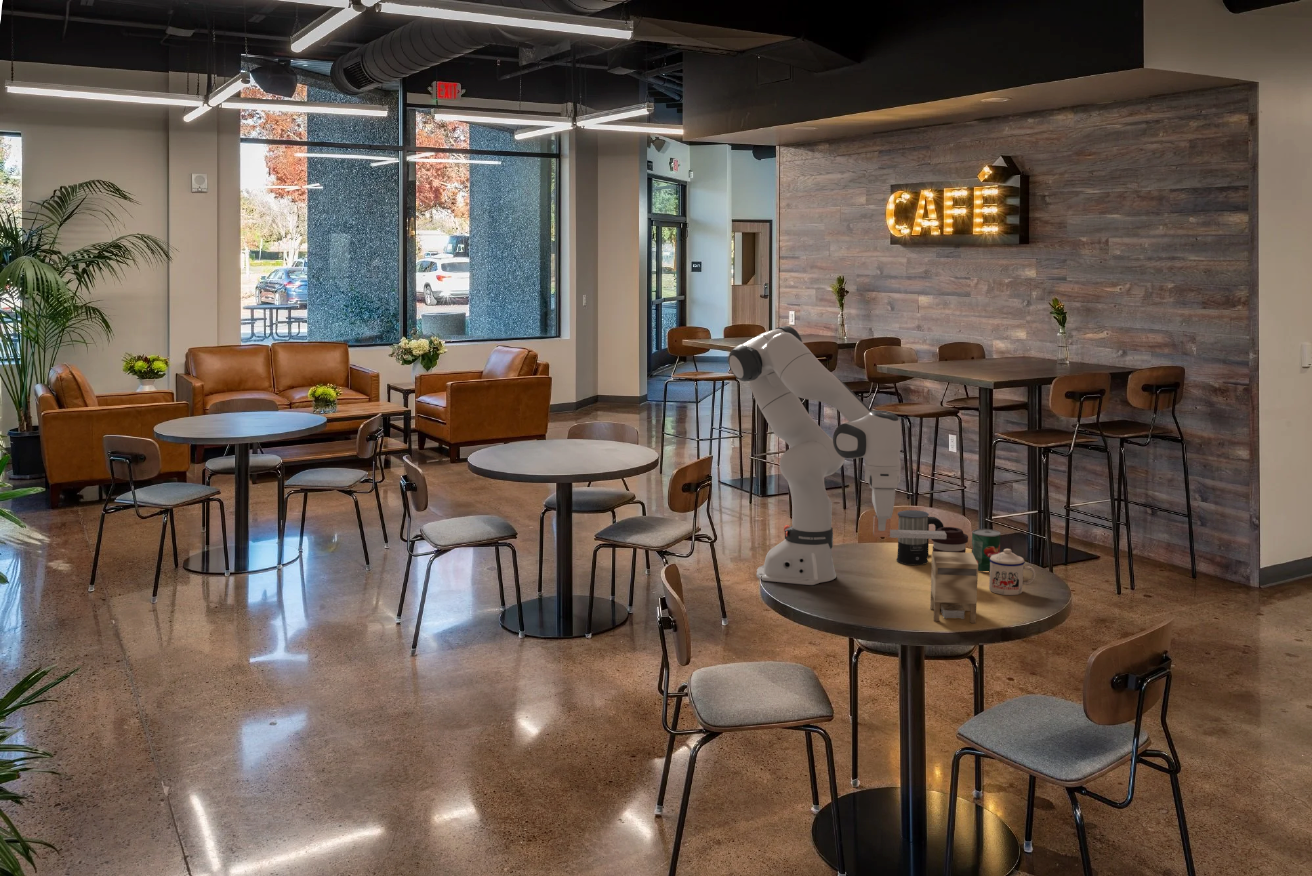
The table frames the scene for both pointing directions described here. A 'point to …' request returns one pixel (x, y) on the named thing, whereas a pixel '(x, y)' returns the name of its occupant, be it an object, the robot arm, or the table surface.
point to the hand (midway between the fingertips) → (880, 528)
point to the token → (952, 611)
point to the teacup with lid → (1007, 573)
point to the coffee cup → (951, 541)
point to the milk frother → (914, 548)
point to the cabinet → (954, 582)
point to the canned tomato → (985, 546)
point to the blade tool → (905, 532)
